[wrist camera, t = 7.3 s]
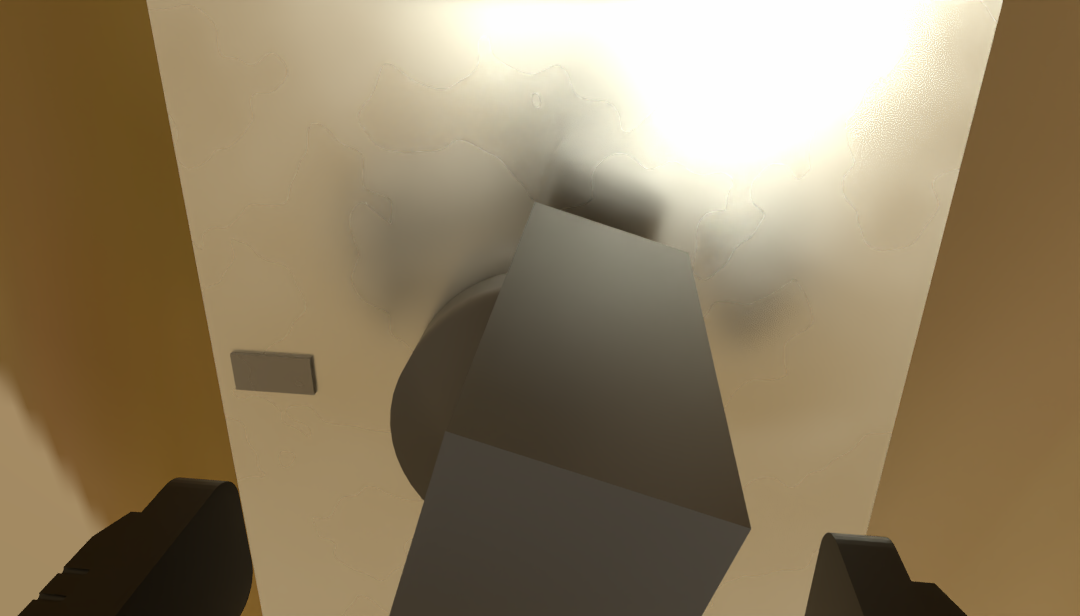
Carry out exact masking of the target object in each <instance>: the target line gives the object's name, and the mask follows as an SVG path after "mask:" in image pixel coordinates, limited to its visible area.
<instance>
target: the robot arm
mask: <svg viewBox="0 0 1080 616" xmlns="http://www.w3.org/2000/svg"><path fill="white" fill-rule="evenodd" d="M252 574H253V568H252V560H251V555H250V550H249V545H248V539H247V534H246V529H245V524H244V519H243V513H242V508H241V503H240V498H239V493H238V490H237V488H236V486H235V485H234V484H233V483H232V482H229V481H217V480H204V479H192V478H175V479H173V480H171V481H170V482H169V483H167V484H166V485H165V487H164V488H163V489H162V490H161V491H160V492H159V493H158V494H157V495H156V497H155V498H154V499H153V500H152V501H151V502H150V503H149V504H148V506H147V507H146V508H145V509H144V510H143V511H142V512H130V513H128V514H127V515H125V516H124V517H122V518H121V519H119V520H118V521H116V522H114V523H113V524H111V525H110V526H108V527H107V528H105V529H103V530H102V531H100V532H99V533H97V534H96V535H94V536H93V537H92V538H91V539H90V540H89V541H88V542H87V543H86V544H85V545H84V546H83V547H82V548H81V549H80V550H79V551H78V552H77V554H76V555H75V556H74V557H73V558H72V559H71V560H70V561H69V562H68V563H67V564H66V565H65V566H64V570H63V573H62V574H60V573H58V574H57V575H56V576H55V577H54V578H53V579H52V580H51V581H50V582H49V583H48V584H47V586H45V587H44V589H43V590H42V591H41V592H40V593H39V594H40V595H39V598H38V599H37V600H32V601H31V602H30V603H29V605H28V606H27V607H26V608H25V609H24V610H23V611H22V612H21V613H20V614H19V615H18V616H240V615H241V613H242V611H243V609H244V607H245V605H246V602H247V600H248V597H249V593H250V589H251V584H252ZM805 616H967V615H966V614H965V613H964V612H963V611H962V610H961V609H960V608H959V607H958V606H957V605H956V604H955V603H954V602H953V601H952V600H951V599H950V598H949V597H948V596H947V595H946V594H945V593H944V592H943V591H942V590H941V589H940V588H939V587H938V586H937V585H936V584H935V583H924V582H912V581H911V580H910V578H909V576H908V573H907V571H906V569H905V567H904V565H903V563H902V561H901V558H900V556H899V554H898V552H897V550H896V548H895V546H894V544H893V543H892V541H891V540H890V539H889V538H886V537H878V536H866V535H854V534H841V533H829V532H828V533H826V534H825V535H824V536H823V538H822V541H821V544H820V548H819V553H818V557H817V562H816V566H815V571H814V575H813V580H812V584H811V589H810V593H809V598H808V602H807V607H806V611H805Z"/></svg>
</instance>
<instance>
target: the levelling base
mask: <svg viewBox="0 0 1080 616" xmlns="http://www.w3.org/2000/svg"><path fill="white" fill-rule="evenodd" d="M146 1H147V6H148V11H149V16H150V22H151V27H152V32H153V38H154V43H155V48H156V53H157V59H158V64H159V69H160V75H161V80H162V85H163V90H164V96H165V101H166V106H167V112H168V117H169V122H170V127H171V133H172V138H173V143H174V149H175V154H176V159H177V164H178V170H179V175H180V180H181V186H182V191H183V196H184V201H185V207H186V212H187V217H188V223H189V228H190V233H191V238H192V244H193V249H194V254H195V260H196V265H197V270H198V276H199V281H200V286H201V291H202V297H203V302H204V307H205V313H206V318H207V323H208V328H209V334H210V339H211V344H212V350H213V355H214V360H215V365H216V371H217V376H218V381H219V387H220V392H221V397H222V402H223V408H224V413H225V418H226V424H227V429H228V434H229V439H230V445H231V450H232V455H233V461H234V466H235V471H236V476H237V482H238V487H239V492H240V498H241V503H242V508H243V513H244V519H245V524H246V529H247V535H248V540H249V545H250V550H251V556H252V561H253V566H254V572H255V577H256V582H257V587H258V593H259V598H260V603H261V609H262V614H263V616H389V614H390V611H391V608H392V605H393V601H394V598H395V595H396V591H397V588H398V585H399V582H400V578H401V575H402V572H403V569H404V565H405V562H406V559H407V555H408V552H409V549H410V546H411V542H412V539H413V536H414V533H415V529H416V526H417V523H418V519H419V516H420V513H421V510H422V506H423V503H424V500H423V499H422V498H421V497H420V496H419V494H418V493H417V492H416V491H415V489H414V488H413V487H412V486H411V484H410V482H409V481H408V479H407V477H406V476H405V474H404V472H403V470H402V468H401V466H400V464H399V461H398V459H397V457H396V453H395V450H394V446H393V443H392V436H391V429H390V409H391V403H392V398H393V393H394V390H395V387H396V384H397V381H398V379H399V377H400V375H401V373H402V371H403V369H404V367H405V365H406V364H407V362H408V360H409V358H410V356H411V355H412V353H413V351H414V349H415V347H416V346H417V344H418V342H419V340H420V338H421V337H422V335H423V333H424V331H425V329H426V328H427V326H428V324H429V323H430V322H431V320H432V319H433V318H434V316H435V315H436V314H437V312H438V311H439V310H440V309H441V308H442V307H443V306H444V305H445V304H446V303H447V302H448V301H449V300H451V299H452V298H453V297H455V296H456V295H457V294H459V293H460V292H462V291H463V290H465V289H467V288H469V287H470V286H472V285H474V284H476V283H478V282H481V281H483V280H486V279H488V278H491V277H494V276H498V275H502V274H506V273H507V272H508V269H509V267H510V264H511V261H512V259H513V256H514V254H515V251H516V249H517V246H518V243H519V241H520V238H521V236H522V233H523V231H524V228H525V225H526V223H527V220H528V218H529V215H530V213H531V210H532V207H533V205H534V202H537V203H540V204H543V205H546V206H549V207H552V208H555V209H558V210H561V211H564V212H567V213H571V214H574V215H577V216H580V217H583V218H586V219H589V220H592V221H595V222H598V223H601V224H604V225H607V226H610V227H613V228H616V229H619V230H622V231H625V232H628V233H631V234H634V235H637V236H640V237H643V238H646V239H649V240H652V241H655V242H658V243H661V244H664V245H667V246H670V247H673V248H676V249H679V250H682V251H685V252H688V253H689V257H690V261H691V266H692V270H693V275H694V279H695V283H696V288H697V292H698V297H699V301H700V305H701V310H702V314H703V319H704V323H705V327H706V332H707V336H708V341H709V345H710V349H711V354H712V358H713V363H714V367H715V371H716V376H717V380H718V385H719V389H720V393H721V398H722V402H723V407H724V411H725V415H726V420H727V424H728V429H729V433H730V437H731V442H732V446H733V451H734V455H735V459H736V464H737V468H738V473H739V477H740V481H741V486H742V490H743V495H744V499H745V503H746V508H747V512H748V517H749V521H750V525H751V530H750V532H749V534H748V535H747V537H746V539H745V541H744V543H743V544H742V546H741V548H740V550H739V551H738V553H737V555H736V557H735V558H734V560H733V562H732V564H731V565H730V567H729V569H728V571H727V572H726V574H725V576H724V578H723V579H722V581H721V583H720V585H719V586H718V588H717V590H716V592H715V593H714V595H713V597H712V599H711V600H710V602H709V604H708V606H707V608H706V609H705V611H704V613H703V615H702V616H805V611H806V607H807V602H808V598H809V593H810V589H811V584H812V580H813V575H814V571H815V566H816V562H817V557H818V553H819V548H820V544H821V541H822V538H823V536H824V535H825V534H826V533H828V532H829V533H841V534H854V535H866V532H867V529H868V525H869V521H870V517H871V513H872V509H873V505H874V501H875V497H876V493H877V490H878V486H879V482H880V478H881V474H882V470H883V466H884V462H885V458H886V454H887V451H888V447H889V443H890V439H891V435H892V431H893V427H894V423H895V419H896V415H897V412H898V408H899V404H900V400H901V396H902V392H903V388H904V384H905V380H906V376H907V373H908V369H909V365H910V361H911V357H912V353H913V349H914V345H915V341H916V337H917V334H918V330H919V326H920V322H921V318H922V314H923V310H924V306H925V302H926V298H927V295H928V291H929V287H930V283H931V279H932V275H933V271H934V267H935V263H936V259H937V256H938V252H939V248H940V244H941V240H942V236H943V232H944V228H945V224H946V220H947V217H948V213H949V209H950V205H951V201H952V197H953V193H954V189H955V185H956V181H957V178H958V174H959V170H960V166H961V162H962V158H963V154H964V150H965V146H966V142H967V139H968V135H969V131H970V127H971V123H972V119H973V115H974V111H975V107H976V103H977V100H978V96H979V92H980V88H981V84H982V80H983V76H984V72H985V68H986V64H987V61H988V57H989V53H990V49H991V45H992V41H993V37H994V33H995V29H996V25H997V22H998V18H999V14H1000V10H1001V6H1002V2H1003V0H146Z"/></svg>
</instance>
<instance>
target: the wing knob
mask: <svg viewBox="0 0 1080 616" xmlns="http://www.w3.org/2000/svg"><path fill="white" fill-rule="evenodd" d="M390 429H391V436H392V443H393V446H394V450H395V453H396V457H397V459H398V461H399V464H400V466H401V468H402V470H403V472H404V474H405V476H406V477H407V479H408V481H409V482H410V484H411V486H412V487H413V488H414V489H415V491H416V492H417V493H418V494H419V496H420V497H421V498H422V499H423V500H424V503H423V506H422V510H421V513H420V516H419V519H418V523H417V526H416V529H415V533H414V536H413V539H412V542H411V546H410V549H409V552H408V555H407V559H406V562H405V565H404V569H403V572H402V575H401V578H400V582H399V585H398V588H397V591H396V595H395V598H394V601H393V605H392V608H391V611H390V614H389V616H702V615H703V613H704V611H705V609H706V608H707V606H708V604H709V602H710V600H711V599H712V597H713V595H714V593H715V592H716V590H717V588H718V586H719V585H720V583H721V581H722V579H723V578H724V576H725V574H726V572H727V571H728V569H729V567H730V565H731V564H732V562H733V560H734V558H735V557H736V555H737V553H738V551H739V550H740V548H741V546H742V544H743V543H744V541H745V539H746V537H747V535H748V534H749V532H750V530H751V525H750V521H749V517H748V512H747V508H746V503H745V499H744V495H743V490H742V486H741V481H740V477H739V473H738V468H737V464H736V459H735V455H734V451H733V446H732V442H731V437H730V433H729V429H728V424H727V420H726V415H725V411H724V407H723V402H722V398H721V393H720V389H719V385H718V380H717V376H716V371H715V367H714V363H713V358H712V354H711V349H710V345H709V341H708V336H707V332H706V327H705V323H704V319H703V314H702V310H701V305H700V301H699V297H698V292H697V288H696V283H695V279H694V275H693V270H692V266H691V261H690V257H689V253H688V252H685V251H682V250H679V249H676V248H673V247H670V246H667V245H664V244H661V243H658V242H655V241H652V240H649V239H646V238H643V237H640V236H637V235H634V234H631V233H628V232H625V231H622V230H619V229H616V228H613V227H610V226H607V225H604V224H601V223H598V222H595V221H592V220H589V219H586V218H583V217H580V216H577V215H574V214H571V213H567V212H564V211H561V210H558V209H555V208H552V207H549V206H546V205H543V204H540V203H537V202H534V205H533V207H532V210H531V213H530V215H529V218H528V220H527V223H526V225H525V228H524V231H523V233H522V236H521V238H520V241H519V243H518V246H517V249H516V251H515V254H514V256H513V259H512V261H511V264H510V267H509V269H508V272H507V273H506V274H502V275H498V276H494V277H491V278H488V279H486V280H483V281H481V282H478V283H476V284H474V285H472V286H470V287H469V288H467V289H465V290H463V291H462V292H460V293H459V294H457V295H456V296H455V297H453V298H452V299H451V300H449V301H448V302H447V303H446V304H445V305H444V306H443V307H442V308H441V309H440V310H439V311H438V312H437V314H436V315H435V316H434V318H433V319H432V320H431V322H430V323H429V324H428V326H427V328H426V329H425V331H424V333H423V335H422V337H421V338H420V340H419V342H418V344H417V346H416V347H415V349H414V351H413V353H412V355H411V356H410V358H409V360H408V362H407V364H406V365H405V367H404V369H403V371H402V373H401V375H400V377H399V379H398V381H397V384H396V387H395V390H394V393H393V398H392V403H391V409H390Z"/></svg>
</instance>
